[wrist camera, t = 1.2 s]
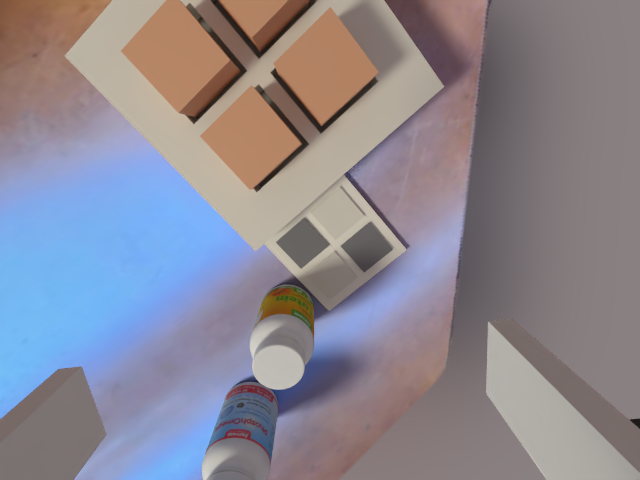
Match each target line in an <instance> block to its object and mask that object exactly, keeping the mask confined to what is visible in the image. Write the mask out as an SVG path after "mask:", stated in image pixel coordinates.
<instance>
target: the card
mask: <svg viewBox="0 0 640 480" xmlns="http://www.w3.org/2000/svg"><path fill="white" fill-rule="evenodd" d="M265 245H266V246H267V247H268V249H269V250H270V251H271V252H272V253H273V254H274V255H275V256H276V257H277V258H278V259H279V260H280V261H281V262H282V263H283V264H284V265H285V266H286V267H287V268H288V269H289V270H290V271H291V272H292V273H293V274H294V275H295V277H296V278H297V279H298V280H299V281H300V282H301V283H302V284H303V285H304V286H305V287H306V288H307V289H308V290H309V291H310V292H311V293H312V294H313V295H314V296H315V297H316V298H317V299H318V300H319V301H320V302H321V303H322V305H323V306H324V307H325V308H326V309H327V310H328V311H330V310H331V309H333V308H334V307H335V306H336V305H338V304H339V303H340V302H342V301H343V300H344V299H345V298H347V297H348V296H349V295H350V294H352V293H353V292H354V291H355V290H357V289H358V288H359V287H360V286H362V285H363V284H364V283H366V282H367V281H368V280H369V279H371V278H372V277H373V276H374V275H376V274H377V273H378V272H379V271H381V270H382V269H383V268H385V267H386V266H387V265H388V264H390V263H391V262H392V261H393V260H395V259H396V258H397V257H398V256H400V255H401V254H402V253H403V252H405V251H406V250H407V249H406V248H405V247H404V246H403V245H402V243H401V242H400V241H399V240H398V239H397V237H396V236H395V235H394V234H393V233H392V231H391V230H390V229H389V228H388V227H387V226H386V224H385V223H384V222H383V221H382V220H381V218H380V217H379V216H378V215H377V214H376V212H375V211H374V210H373V209H372V208H371V206H370V205H369V204H368V203H367V202H366V200H365V199H364V198H363V197H362V196H361V194H360V193H359V192H358V191H357V190H356V188H355V187H354V186H353V185H352V184H351V182H350V181H349V180H348V179H347V178H346V176H345V175H343V176H341V177H340V178H339V179H338V180H337V181H336V182H335V183H333V184H332V185H331V186H330V187H329V188H328V189H327V190H325V191H324V192H323V193H322V194H321V195H320V196H318V197H317V198H316V199H315V200H314V201H313V202H312V203H310V204H309V205H308V206H307V207H306V208H305V209H304V210H302V211H301V212H300V213H299V214H298V215H297V216H296V217H294V218H293V219H292V220H291V221H290V222H289V223H288V224H286V225H285V226H284V227H283V228H282V229H281V230H279V231H278V232H277V233H276V234H275V235H274V236H273V237H271V238H270V239H269V240H268V241H267V242H266V243H265Z"/></svg>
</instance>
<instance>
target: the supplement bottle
mask: <svg viewBox="0 0 640 480" xmlns="http://www.w3.org/2000/svg"><path fill="white" fill-rule="evenodd" d="M313 349H314V305H313V302H312V299H311V297H310V296H309V294H308V293H307V292H306V291H305V290H303V289H302V288H300V287H298V286H295V285H280V286H277V287H275V288H273V289H272V290H270V291H269V292H268V293H267V294H266V296H265V297H264V299H263V302H262V304H261V307H260V310H259V313H258V317H257V319H256V323H255V326H254V329H253V331H252V335H251V339H250V351H251V354H252V357H253V363H252V369H253V373H254V376H255V377H256V379H257V380H258V381H259V382H260V383H261V384H262V385H264V386H266V387H268V388H271V389H276V390H282V389H287V388H290V387H292V386H294V385H295V384H297V383H298V382H299V381H300V380H301V378H302V376H303V374H304V371H305V365H306V364H307V363H308V361H309V360H310V358H311V356H312V353H313Z"/></svg>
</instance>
